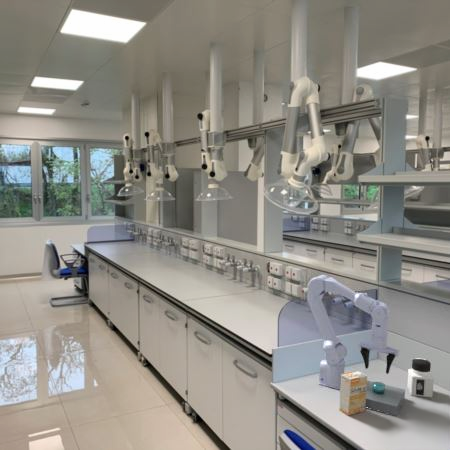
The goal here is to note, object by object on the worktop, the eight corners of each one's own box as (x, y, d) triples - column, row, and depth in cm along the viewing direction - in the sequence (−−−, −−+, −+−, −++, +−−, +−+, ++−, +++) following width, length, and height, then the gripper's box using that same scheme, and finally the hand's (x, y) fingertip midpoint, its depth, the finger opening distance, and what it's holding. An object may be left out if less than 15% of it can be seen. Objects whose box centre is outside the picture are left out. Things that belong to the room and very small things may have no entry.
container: (432, 398, 167) (434, 364, 166) (411, 395, 169) (413, 362, 168) (427, 389, 175) (429, 357, 174) (407, 387, 176) (408, 355, 176)
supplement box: (348, 416, 152) (350, 379, 151) (338, 410, 156) (340, 374, 155) (366, 411, 156) (368, 375, 155) (356, 405, 160) (358, 370, 159)
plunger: (370, 401, 163) (371, 384, 162) (373, 397, 167) (374, 380, 166) (382, 404, 161) (383, 387, 160) (385, 400, 164) (386, 383, 164)
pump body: (350, 403, 161) (350, 394, 161) (361, 387, 175) (362, 379, 174) (396, 416, 153) (397, 406, 152) (404, 398, 166) (405, 389, 166)
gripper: (356, 334, 167) (354, 368, 168) (397, 342, 160) (394, 378, 161) (362, 329, 173) (360, 363, 174) (401, 337, 166) (398, 372, 167)
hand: (377, 370), depth 168 cm, fingers open, 7 cm apart
